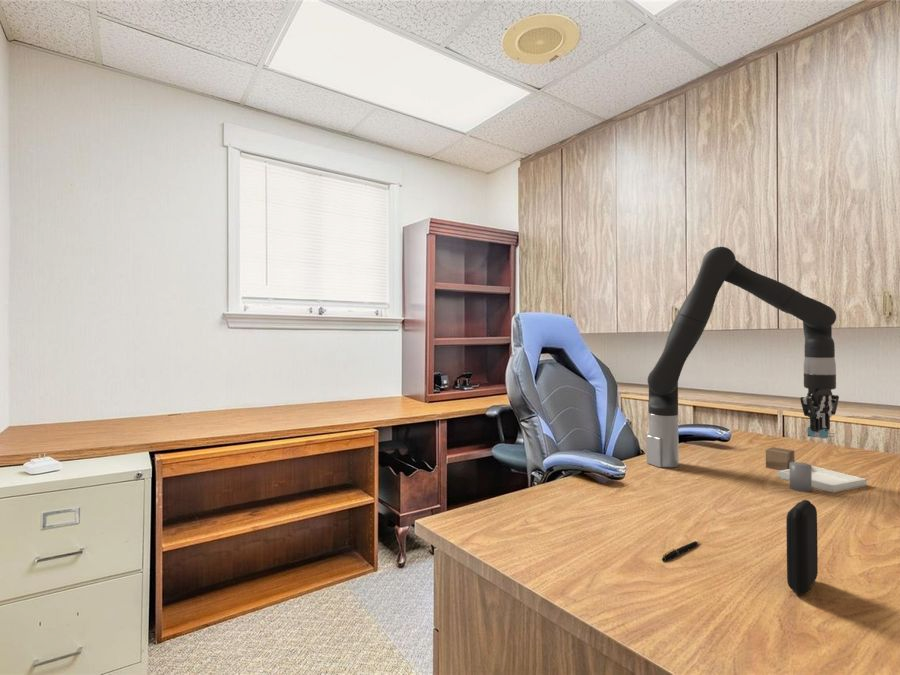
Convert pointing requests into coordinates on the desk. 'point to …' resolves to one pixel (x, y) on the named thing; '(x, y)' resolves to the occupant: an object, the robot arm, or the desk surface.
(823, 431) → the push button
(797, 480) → the dark grey cylinder
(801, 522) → the carrying case or bag
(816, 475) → the grey tray
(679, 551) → the fountain pen
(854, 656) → the desk surface
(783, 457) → the walnut block
